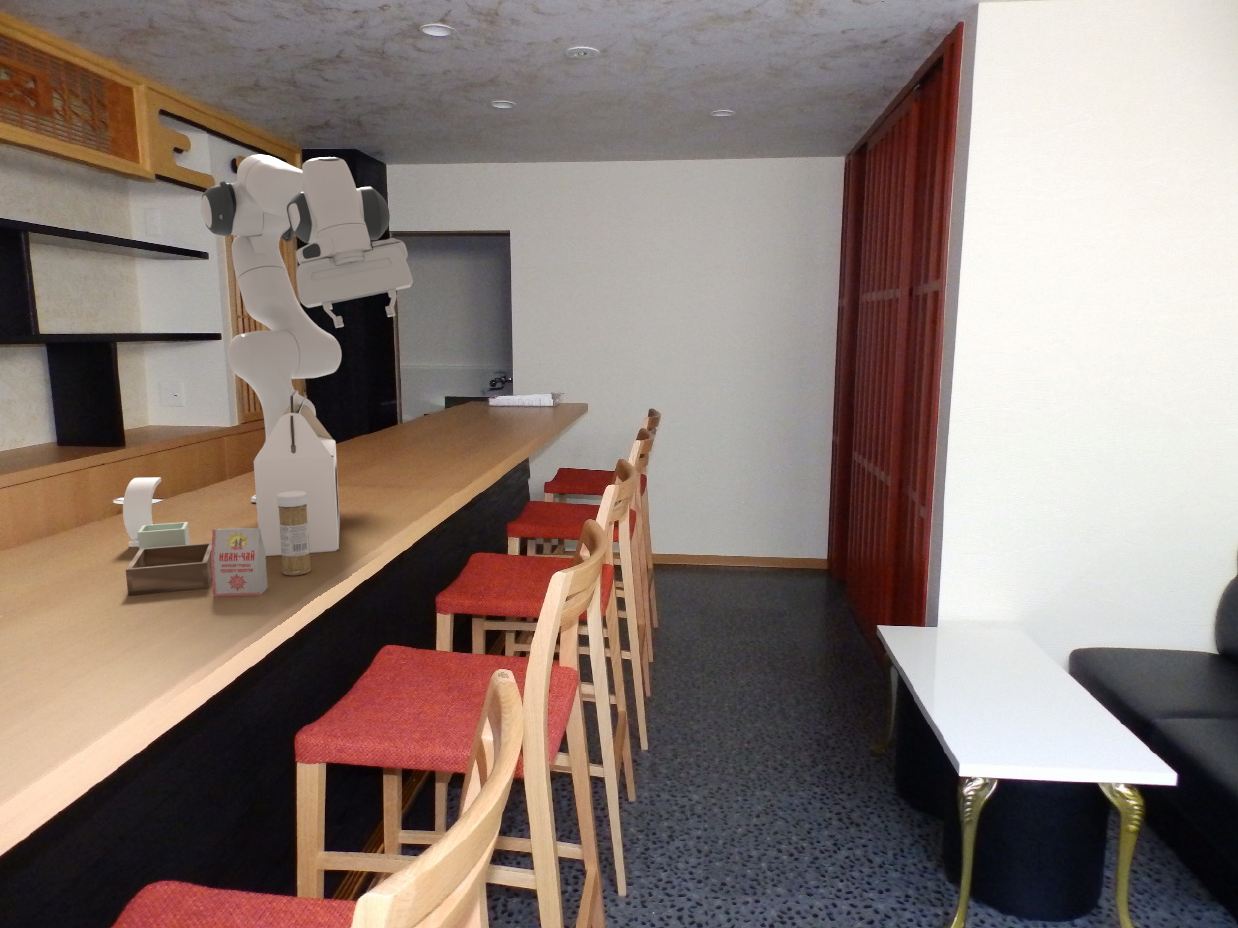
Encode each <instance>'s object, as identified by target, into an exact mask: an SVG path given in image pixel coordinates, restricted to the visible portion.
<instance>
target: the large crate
mask: <svg viewBox="0 0 1238 928" xmlns="http://www.w3.org/2000/svg"><path fill="white" fill-rule="evenodd" d="M211 549H212V542H207V543H205V542H204V543H202V542H201V543H193V544H191V543H190V545H177V546H165V547H152V548H140V549H139V548H138V551H137V552H136V554H135V555H134V557H133V558H132V559H131V561H130V563H129V564H128V566H127V567H126V569H125V578H126V586H127V596H136V595H148V594H157V593H168V592H176V591H177V592H179V591H180V592H181V591H189V590H198V589H209V588H210V585H211V583H212V571H211Z"/></svg>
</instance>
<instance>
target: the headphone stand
mask: <svg viewBox="0 0 1238 928" xmlns="http://www.w3.org/2000/svg"><path fill="white" fill-rule="evenodd" d="M160 483H162V477H159V476H158V477H134V478H133V479H131V480H130V481H129V483H128V485H127V487H126V490H125V492H124V497H123V502H122V517H123V524H124V527H125V531H126V533H127V534H128V536H129V537H130V539H132V540H131V541H129V542H128V547H129V548H135V547H136V548H137V547H138V548H139V542H138V531H139V530H140V529H141V527H142V526H143V525H152V524H154V522H153V521H154V520H153V514H152V512H153V511H152V506H153V505H152V504H153V502H152V501H153V497H154V493H155V491H156V489H157V487H158V485H159V484H160Z"/></svg>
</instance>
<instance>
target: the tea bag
mask: <svg viewBox="0 0 1238 928" xmlns="http://www.w3.org/2000/svg"><path fill="white" fill-rule="evenodd" d="M211 543H212V549H211V571H212V579H211V584H212V594H213V597H214V598H216V597H218V598H219V597H250V596H251V597H253V596H254V597H255V596H261V595H262V594H263V593H265V591H266V590H267V589H268V574H267V559H266V557H267V556H265V549H264V545H263V541H262V537H261V533H260V528H258V527H257V528H254V527H253V528H213V529H212V540H211Z"/></svg>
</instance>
